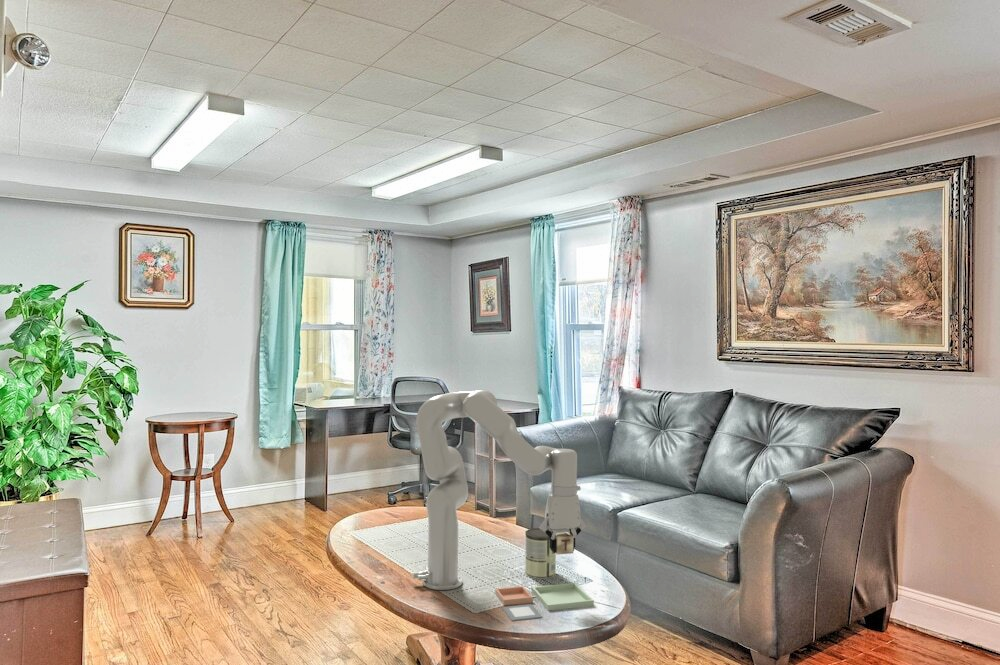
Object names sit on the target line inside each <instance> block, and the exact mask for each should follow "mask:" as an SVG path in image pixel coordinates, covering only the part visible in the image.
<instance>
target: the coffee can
mask: <svg viewBox="0 0 1000 665" xmlns="http://www.w3.org/2000/svg"><path fill="white" fill-rule="evenodd" d="M547 529H548V530H550V528H547ZM524 554H525V557H524V559H525V560H524V562H525V564H524V566H525V570H524V571H525V572H524V575H525V576H526V577H530V578H535V579H539V580H540V579H550V578H551V579H552V578H553V577H555V575H556V563H557V561H556V555H557V554H556V553H554V552H553V551H551V549H550V537H549V536H548V535H547V534H546V533H545V532H544V531H542V530H541V529H540V528H539V527H534V528H530V529H526V530H525V553H524Z"/></svg>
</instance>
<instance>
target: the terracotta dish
mask: <svg viewBox="0 0 1000 665" xmlns="http://www.w3.org/2000/svg"><path fill="white" fill-rule="evenodd" d="M494 594H495V596H496V598H497V599H498V600H499V601H500V603H502V605H503V606H511V605H512V606H513V605H522V604H528V603H529V604H532V603H534V602H533V601H534V597H533V595H532V594H531V593H530V592H529V591H528V590H527V589H526V588H525V586H523V585H521V586H520V585H519V586H511V587H510V586H508V587H501V588H500V587H499V588H495V589H494Z"/></svg>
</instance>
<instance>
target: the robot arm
mask: <svg viewBox="0 0 1000 665" xmlns="http://www.w3.org/2000/svg"><path fill="white" fill-rule="evenodd" d="M497 401H498V400H497V398H496V396H495V395H494V394H493V393H492V392H491V391H488V390H485V389H484V390H483V389H482V390H475V391H474V390H472V391H458V392H457V391H456V392H455V391H454V392H447V393H443V394H439V395H438V394H437V395H435V396H433V397H431V398H428V399H427V400H426V401H424V402H423V404H422V405H421V406H420V407H419V409H418V411H417V414H416V421H415V423H416V429H417V434H418V438H419V443H420V451H421V455H422V460H423V461H422V462H423V467H424V472H425V475H426V476H427V477H428V479H430V480H432V481H438V482H439V484H437V485H435V486H434V487H433V488H432V489H431V490H430V491H429V493H428V495H427V497H426V511H427V519H428V520H427V521H428V527H427V528H428V531H427V534H428V541H427V542H428V545H427V547H428V548H427V550H428V551H427V566H426V567H425V569H423V570H422V571H413V572H412V578H413V579H417V580H418V581H422V585H423V586H424V587H425V588H427V589H430V590H436V591H448V590H454V589H457V588H459V587H460V586H462V584H463V577H461V576H460V575H458V574H459V570H458V569H459V520H458V514H457V510H458V509H459V508H460V507H462V506H464V504H465V503H466V502H467V500H468V498H469V484H468V481H467V475H466V469H465V464H464V460H463V457H462V455H461V453H460V452H459V451H458V450H457V448H455V447H453V446H448V445H449V444H448V441H447V434H446V432H445V430H444V428H443V423H445V422H447V421H450V420H454V419H459V418H460V419H461V418H469V419H470V420H472V422H474V423H475V424H476V425H478V427H480V428H481V429H482V430H483V431H484V432H486V434H488V435H489V436H490V437H492V438H493V439H494V440H495V441H496V442H497V444H498V446H499V448H500V449H501V450H502V451H503V453H504V454H505V455H506V457H507V458H508V459H509V460H511V462H513V463H514V464H515V465H516V466H517V467H519V469H520V470H522V471H523V472H525V473H526V474H529V475H531V476H540V475H541V474H543V473H545V472H546V471H549V470H551V482H550V483H551V490H550V493H548V495H547V500H546V504H545V513H544V520H543V522H542V523H541V524H540V525H539V527H538V528H540V529H541V530H542V531H544V532H545V533H546V534H547V535H548V536H549V537H550V549H551V551H553V552H554V553H556V545H557V540H556V539H555V537H556V533H557V532H558V530H568V533H570V534H571V535H572V536H573V537H574V541H573V552H574V551H575V548H576V538H577V537H578V535H579V534H580V533H581V532H582V531H583V529H585V528H586V527H587V524H586V522H584V520H583V519H582V518H581V507H580V499H579V495H578V491H581V485H577V481H578V480H577V479H578V478H577V477H578V474H577V473H578V453H577V451H575V450H574V449H571V448H555V447H552V446H547V445H537V446H536V447H534V446H532V445H531V444H529V442H528V441H526V440H525V438H523V436H522V435H521V434H520V433H519V430H518V429H517V424H516V422H515V419H514V418H513V417H512V416H510V415H509V414H508V413H507V412H506V411H504V409H502V408H501V407H499V406H498V402H497ZM547 527H548V528H547ZM548 529H550V530H548Z"/></svg>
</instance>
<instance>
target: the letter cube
mask: <svg viewBox="0 0 1000 665" xmlns="http://www.w3.org/2000/svg"><path fill="white" fill-rule="evenodd" d="M555 539H556V540H557V545H556V555H570V554H574V551H573V541H574V537H573V536H572V535H571V534H570V532H569V531H562V532H561V531H559V532H558V531H557V533H556V537H555Z"/></svg>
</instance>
